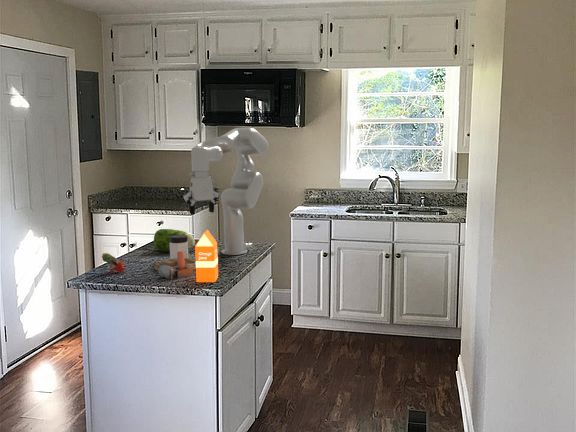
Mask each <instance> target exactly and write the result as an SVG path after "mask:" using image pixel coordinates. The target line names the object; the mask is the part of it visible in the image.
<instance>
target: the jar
mask: <svg viewBox="0 0 576 432" xmlns="http://www.w3.org/2000/svg"><path fill="white" fill-rule="evenodd" d="M178 251H184V256H185V258H189V248H188V238H187V235H172V236H170V252H169V259H174V258H177V252H178Z"/></svg>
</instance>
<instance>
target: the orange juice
mask: <svg viewBox="0 0 576 432" xmlns="http://www.w3.org/2000/svg"><path fill="white" fill-rule="evenodd" d="M194 248H195V249H194V252H195V253H194V254H195V263H196V269H195V277H196V283H215V282H216V281H217V280H218V277H219V256H218V255H219V254H218V241H217V240H216V239H215V237H214V236H213V235H212V234H211V233H210V231H209V229H206V230H205V232H203V233H202V235H201V237H200V239H199V240H198V242H197V243H196V244H195V245H194Z"/></svg>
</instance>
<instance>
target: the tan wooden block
mask: <svg viewBox="0 0 576 432" xmlns="http://www.w3.org/2000/svg"><path fill="white" fill-rule="evenodd" d="M160 262H161V263H162V265H168V266H170V267H174V266H178V263H177V258H174V259H170V258H169V259H163V260H161V261H160ZM185 265H186V260H185Z"/></svg>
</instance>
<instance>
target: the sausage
mask: <svg viewBox="0 0 576 432" xmlns="http://www.w3.org/2000/svg"><path fill="white" fill-rule="evenodd" d="M177 263H178V270H182V269H185V256H184V251H178V252H177Z"/></svg>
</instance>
